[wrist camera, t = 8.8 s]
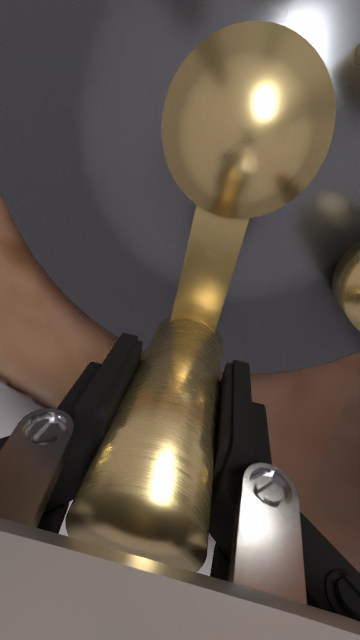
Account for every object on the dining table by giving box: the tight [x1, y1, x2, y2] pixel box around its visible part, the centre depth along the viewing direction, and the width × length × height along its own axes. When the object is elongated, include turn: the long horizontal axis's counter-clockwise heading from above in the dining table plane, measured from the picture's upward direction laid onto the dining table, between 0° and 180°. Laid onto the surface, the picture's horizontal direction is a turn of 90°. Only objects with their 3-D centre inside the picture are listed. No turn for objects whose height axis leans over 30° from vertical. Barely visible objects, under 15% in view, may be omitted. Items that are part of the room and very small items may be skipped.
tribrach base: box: [0, 0, 360, 374], centre depth 12 cm, size 20×20×4 cm
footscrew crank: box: [66, 21, 336, 572], centre depth 9 cm, size 12×5×9 cm, turn 168°
